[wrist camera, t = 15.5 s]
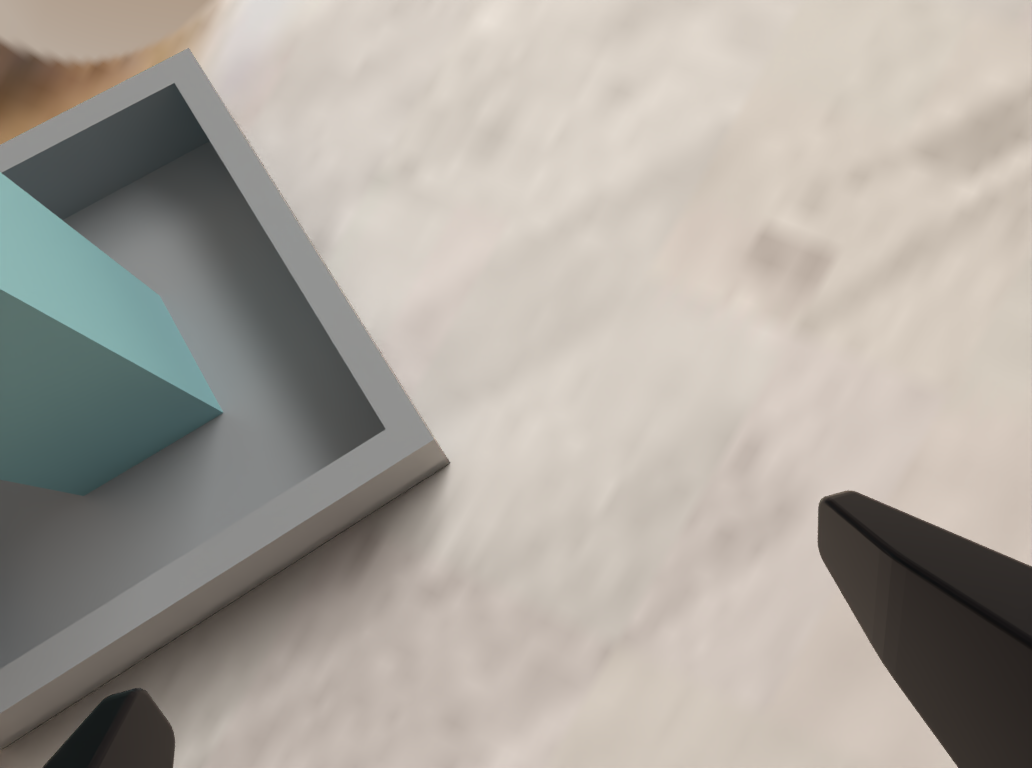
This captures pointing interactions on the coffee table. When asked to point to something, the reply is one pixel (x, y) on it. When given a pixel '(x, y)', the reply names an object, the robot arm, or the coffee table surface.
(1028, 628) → the robot arm
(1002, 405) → the coffee table surface
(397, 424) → the grey crate
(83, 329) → the teal square pillar
